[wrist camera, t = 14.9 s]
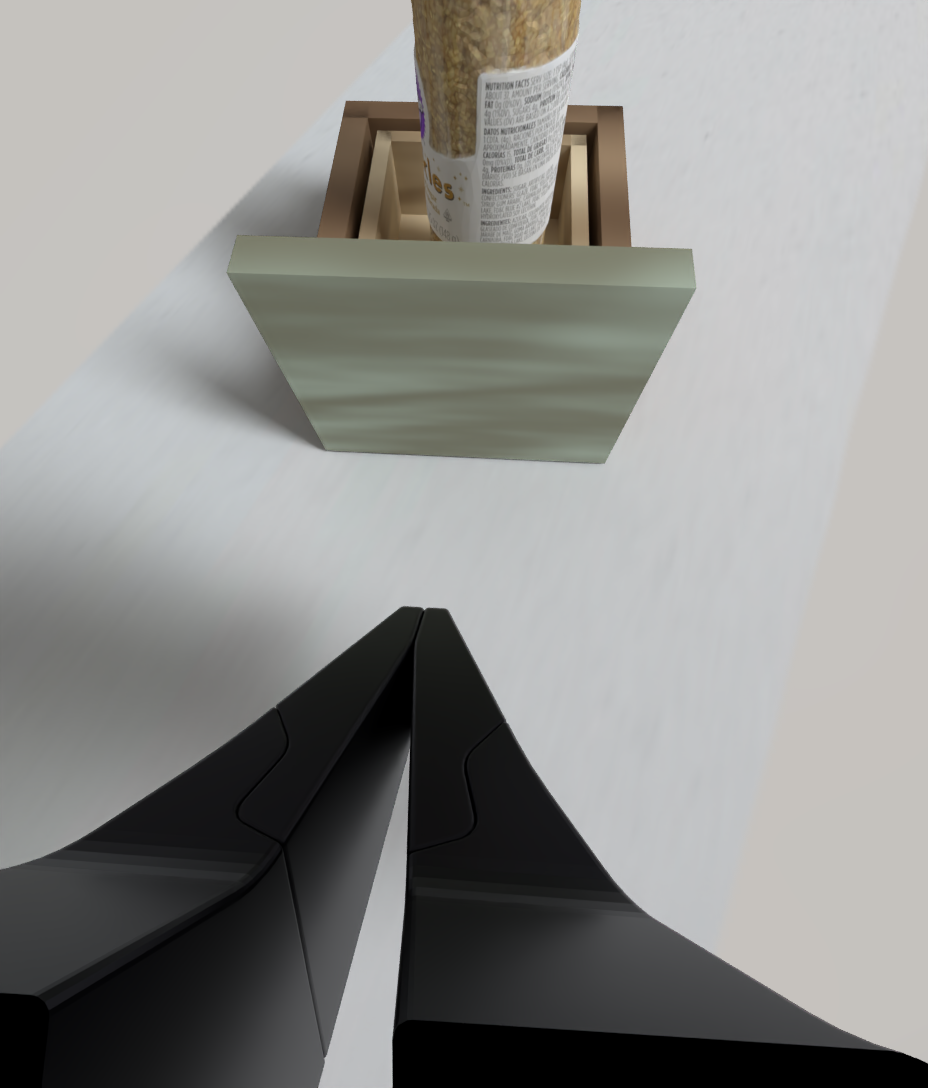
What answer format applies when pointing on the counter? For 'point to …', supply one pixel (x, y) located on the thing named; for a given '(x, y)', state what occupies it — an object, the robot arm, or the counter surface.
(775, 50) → the counter surface
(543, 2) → the spice jar
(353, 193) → the walnut caddy
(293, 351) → the drawer
